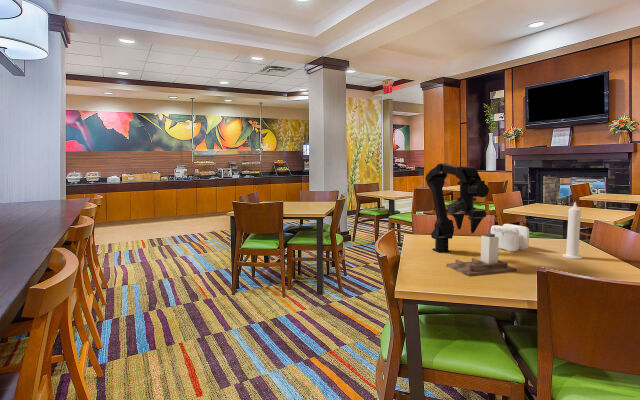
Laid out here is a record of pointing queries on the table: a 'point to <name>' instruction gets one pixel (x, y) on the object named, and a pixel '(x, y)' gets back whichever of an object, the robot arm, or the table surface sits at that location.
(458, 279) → the table surface
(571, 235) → the candle
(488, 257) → the white tall block
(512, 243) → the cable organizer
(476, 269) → the comb rack
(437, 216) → the robot arm
